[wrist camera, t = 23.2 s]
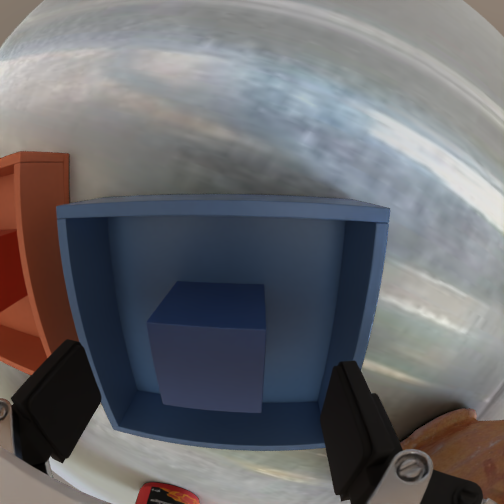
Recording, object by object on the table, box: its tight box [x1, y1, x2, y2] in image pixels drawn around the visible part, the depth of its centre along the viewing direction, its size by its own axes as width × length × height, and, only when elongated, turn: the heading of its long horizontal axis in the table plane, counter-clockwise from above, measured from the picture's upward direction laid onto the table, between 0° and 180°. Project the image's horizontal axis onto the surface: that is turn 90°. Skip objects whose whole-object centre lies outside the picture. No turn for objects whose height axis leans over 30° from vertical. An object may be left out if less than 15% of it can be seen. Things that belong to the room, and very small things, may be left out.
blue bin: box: [56, 194, 390, 451], centre depth 14 cm, size 14×14×5 cm
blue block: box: [146, 281, 267, 413], centre depth 13 cm, size 5×5×5 cm
